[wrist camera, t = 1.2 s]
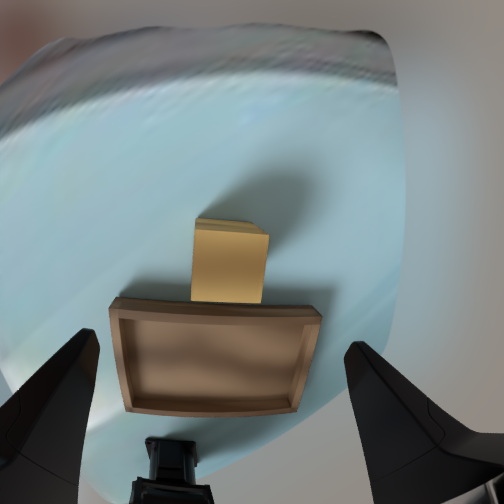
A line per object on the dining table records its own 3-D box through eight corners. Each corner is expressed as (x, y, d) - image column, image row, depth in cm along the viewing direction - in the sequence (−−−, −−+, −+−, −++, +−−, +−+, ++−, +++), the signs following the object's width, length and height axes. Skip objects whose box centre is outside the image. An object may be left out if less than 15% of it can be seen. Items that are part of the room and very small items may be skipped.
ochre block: (245, 274, 23) (260, 303, 18) (192, 271, 22) (190, 300, 17) (251, 222, 22) (269, 235, 17) (195, 217, 22) (194, 229, 16)
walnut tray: (290, 398, 28) (296, 411, 26) (129, 396, 24) (125, 411, 22) (312, 305, 25) (322, 316, 23) (116, 296, 22) (108, 308, 19)
